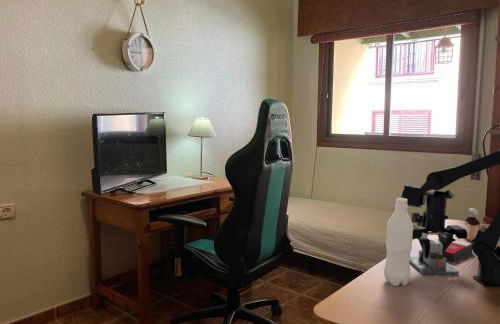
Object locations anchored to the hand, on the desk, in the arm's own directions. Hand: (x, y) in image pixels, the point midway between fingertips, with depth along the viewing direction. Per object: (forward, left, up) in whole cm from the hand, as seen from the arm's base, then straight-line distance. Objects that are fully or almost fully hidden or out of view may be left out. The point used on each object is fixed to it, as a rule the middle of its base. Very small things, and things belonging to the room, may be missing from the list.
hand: (432, 257), depth 131 cm
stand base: (0, 0, -3) cm, 3 cm away
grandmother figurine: (+27, -29, -4) cm, 40 cm away
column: (0, 0, -2) cm, 2 cm away
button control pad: (+13, -12, -4) cm, 18 cm away
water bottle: (-11, +16, -4) cm, 20 cm away
